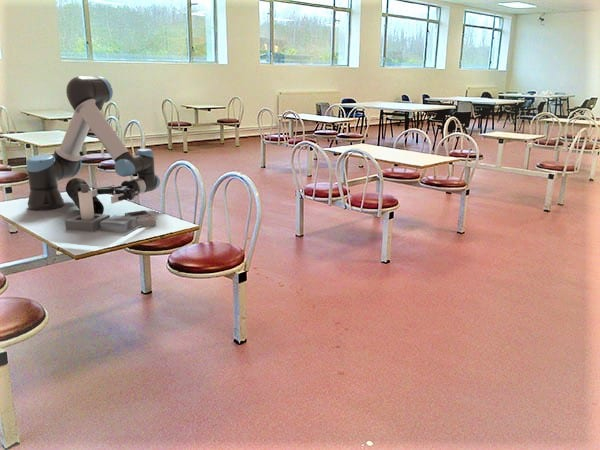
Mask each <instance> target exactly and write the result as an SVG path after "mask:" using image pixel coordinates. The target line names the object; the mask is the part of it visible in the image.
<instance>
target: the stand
mask: <svg viewBox="0 0 600 450" xmlns="http://www.w3.org/2000/svg"><path fill="white" fill-rule="evenodd" d="M100 226H101V228H100V231H101V232H112V233H122V234H125V233H127V232H128V231H130V230H131V229H134V228H135V227H137V226H138V225H137V217H130V216H125V215H115V214H114V215H110V217H109V218H107V219H105V220H103V221H101V222H100ZM136 230H137V228H135V229H134V230H132V231H130V232H128V233H127V234H125V235H124V237H126V236H127V235H128V236H129V235H130V234H131V233H133V232H134V231H136Z"/></svg>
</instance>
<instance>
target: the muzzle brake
mask: <svg viewBox="0 0 600 450" xmlns="http://www.w3.org/2000/svg"><path fill="white" fill-rule="evenodd" d="M81 184H88V183H87V182H86V181H85V180H84V179H82V178H78V177H72V178H70V179H69V180H68V181H67V183H66V185H65V192H66V194H67V195H68V197H69V198H70V199H71V200H72V201H73V203H74V204H75V206H76V207H77V209H78V210H79V211H80V205H79V196H78V192H80V191H81ZM91 190H92V188H90V186H89V184H88V191H91ZM92 198H93V208H94V214H104V211H105V207H104V204H103V203H102V202H101V200H100V199H99V198H98V196H94V197H92Z"/></svg>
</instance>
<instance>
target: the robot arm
mask: <svg viewBox="0 0 600 450" xmlns="http://www.w3.org/2000/svg"><path fill="white" fill-rule="evenodd" d="M65 90H66V97H67V101H68V102H69V105H70V106H71V107H72V109H73V115H72V117H71V119H70V122H69V124H68V126H67V129H66V132H65V135H64V137H63V139H62V142H61V145H60V146H57V147H56V148H55V150H54V152H53V154H50V153H44V154H37V155H36V154H35V155H33V156H30V157H29V158H27V160H26V171H27V177H28V184H29V195H28V201H27V208H28V209H29V210H31V211H32V210H34V211H48V210H55V209H59V208H61V207H64V205H65V201H64V198H63V196H62V193H61V192H60V190H59V186H58V182H59V181H62V180H65V179H72V178H74V177H75V176H77V175H79V173H80V172H81V170H82V168H83V163H82V156H81V154H80V153H81V150H82V147H83V145H84V143H85V140H86V138H87V135H88V133H89V131H90V130H91V131H92V132H93V134H94V135H95V136H96V139H97V140H98V141H99V142H100V144H101V145H102V146H103V147H104V149H105V150H106V152H107V153H108V154H109V156H110V157H111V159H112V160H113V161H114V172H115V173H116V174H117V176H120V177H123V178H125V177H131V176H133V175H137V177H133V178H130V179H126V180H124V181H122V182H121V184H120V185H116V186H115V185H114V184H112V185H105V186H97V187H92V188H91V191H92V197H94V196H96V197H98V195H111V194H112V195H113V196H110V203H111V204H116V203H118V202H123V201H127V200H129V201H132V200H133V199H134V198H135V197H136V196H137V197H138V196H139V195H141V194H144V193H147V192H153V191H154V190H156V189H158V188H159V186H160V184H161V181H160V177H159V176H158V175H157V174H156V173H155V172H156V171H155V157H154V156H155V155H154V151H153V150H152V148H151V149H150V148H139V149H136V152H135V155H133V154H131V152H130V151H129V149H128V148H127V146H125V144H124V143H123V141H122V139H121V138H120V137H119V136H118V134H117V133H116V131H115V129H114V128H113V127H112V126H111V124H110V123H109V121H108V120H107V119H106V118H105V116H104V114H103V113H102V112H101V111H102V108H103V106H104V104H106V103H108V102H110V101H111V100H112V98H113V95H114V94H113V93H114V92H113V88H112V85H111V83H110V81H109V80H108V79H106V78H105V77H103V76H97V75H93V76H83V75H82V76H75V77H73V78H71V79H70V81H69V82H68V83H67V86H66V89H65Z"/></svg>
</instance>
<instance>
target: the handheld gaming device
mask: <svg viewBox="0 0 600 450" xmlns="http://www.w3.org/2000/svg"><path fill="white" fill-rule="evenodd" d="M124 216H130V217H137V226H139V227H138V229H143V228H149V227H154V226H156V225H157V219H156V217H155V216H154V215H152V214H151V213H150V212H148V211H147V210H145V209H143V210H138V211H131V212H125V213H124Z"/></svg>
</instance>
